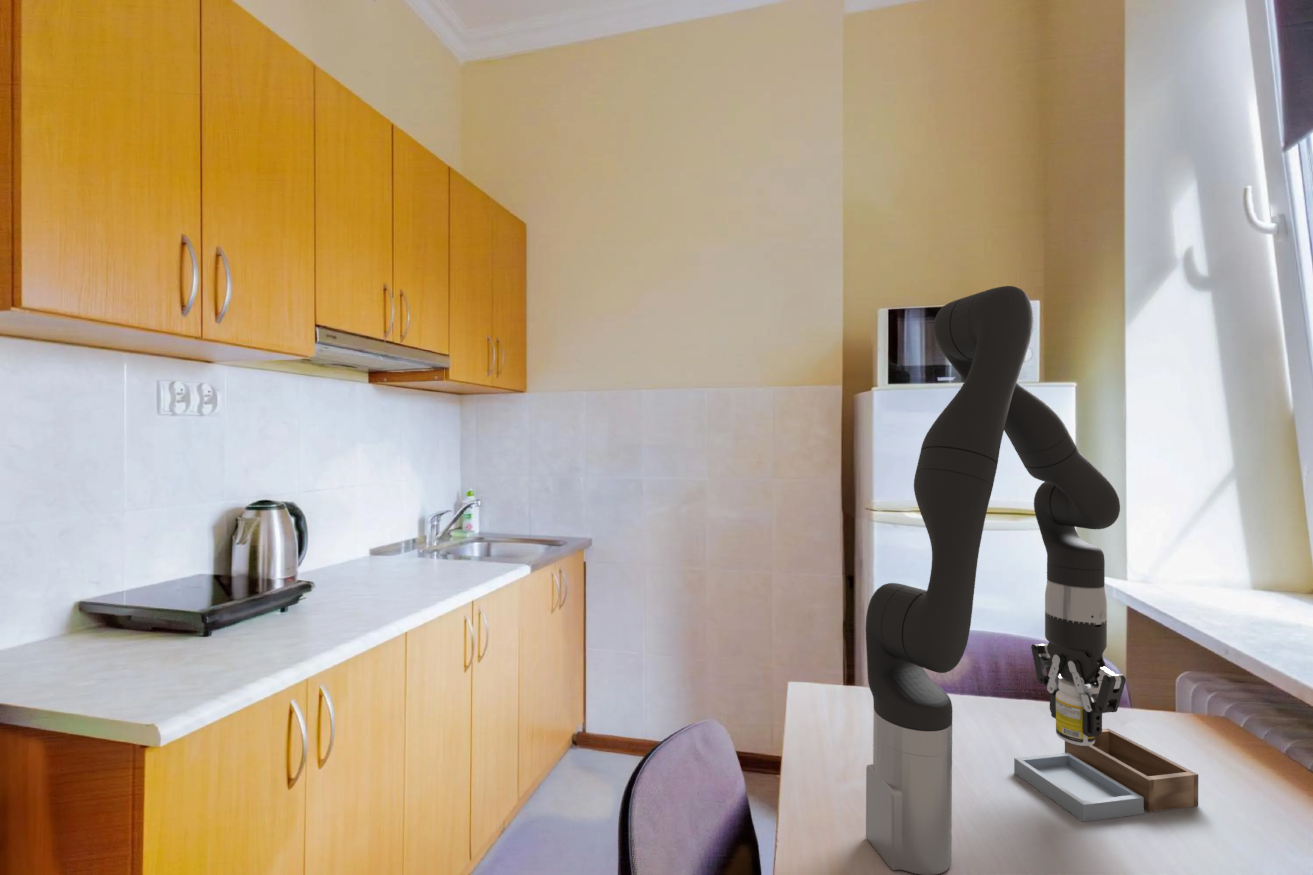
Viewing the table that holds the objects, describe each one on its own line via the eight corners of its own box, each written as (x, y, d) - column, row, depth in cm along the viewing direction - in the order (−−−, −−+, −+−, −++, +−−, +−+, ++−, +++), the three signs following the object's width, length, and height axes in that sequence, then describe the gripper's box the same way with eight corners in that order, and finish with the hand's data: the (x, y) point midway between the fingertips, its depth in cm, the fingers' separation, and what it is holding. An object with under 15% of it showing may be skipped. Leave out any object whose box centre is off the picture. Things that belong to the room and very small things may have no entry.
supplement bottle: (1082, 731, 89) (1082, 676, 89) (1102, 747, 84) (1102, 689, 84) (1048, 729, 89) (1048, 675, 89) (1067, 745, 84) (1067, 688, 84)
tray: (1083, 821, 79) (1083, 804, 79) (1014, 772, 91) (1014, 757, 91) (1143, 813, 81) (1143, 797, 81) (1068, 766, 93) (1068, 752, 93)
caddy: (1149, 811, 82) (1149, 780, 82) (1064, 759, 95) (1064, 732, 95) (1198, 805, 83) (1198, 774, 83) (1108, 755, 97) (1108, 728, 97)
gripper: (1015, 600, 93) (1015, 706, 93) (1098, 629, 79) (1098, 754, 79) (1055, 598, 94) (1055, 703, 94) (1144, 626, 80) (1144, 749, 80)
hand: (1074, 726), depth 86 cm, fingers closed on supplement bottle, 4 cm apart
